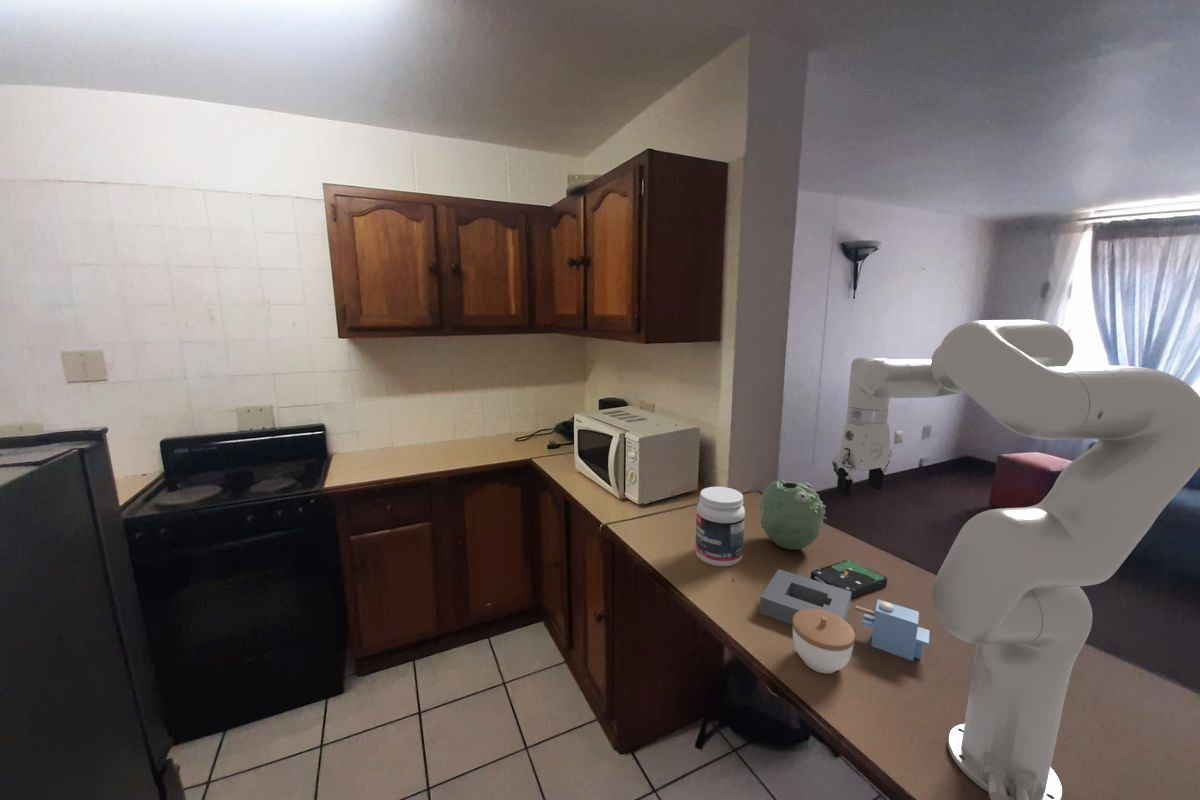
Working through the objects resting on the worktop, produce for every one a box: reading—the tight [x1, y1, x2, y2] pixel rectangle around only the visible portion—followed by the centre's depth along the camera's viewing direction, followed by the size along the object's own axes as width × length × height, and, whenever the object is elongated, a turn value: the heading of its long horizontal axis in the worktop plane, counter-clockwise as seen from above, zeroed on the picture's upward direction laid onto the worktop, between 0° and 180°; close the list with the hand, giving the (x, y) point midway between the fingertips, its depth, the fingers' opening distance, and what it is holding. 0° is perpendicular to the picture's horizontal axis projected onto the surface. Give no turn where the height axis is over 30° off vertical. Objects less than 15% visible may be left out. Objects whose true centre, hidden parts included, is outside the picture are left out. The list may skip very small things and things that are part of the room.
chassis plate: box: [759, 569, 852, 626], centre depth 103 cm, size 14×16×4 cm
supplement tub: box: [694, 486, 746, 567], centre depth 125 cm, size 13×13×18 cm
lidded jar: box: [792, 609, 856, 675], centre depth 87 cm, size 11×11×9 cm
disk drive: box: [810, 559, 888, 600], centre depth 114 cm, size 10×3×15 cm
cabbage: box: [759, 478, 828, 550], centre depth 130 cm, size 16×19×20 cm
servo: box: [854, 598, 930, 662], centre depth 91 cm, size 13×4×9 cm, turn 53°
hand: (859, 491), depth 100 cm, fingers open, 9 cm apart
